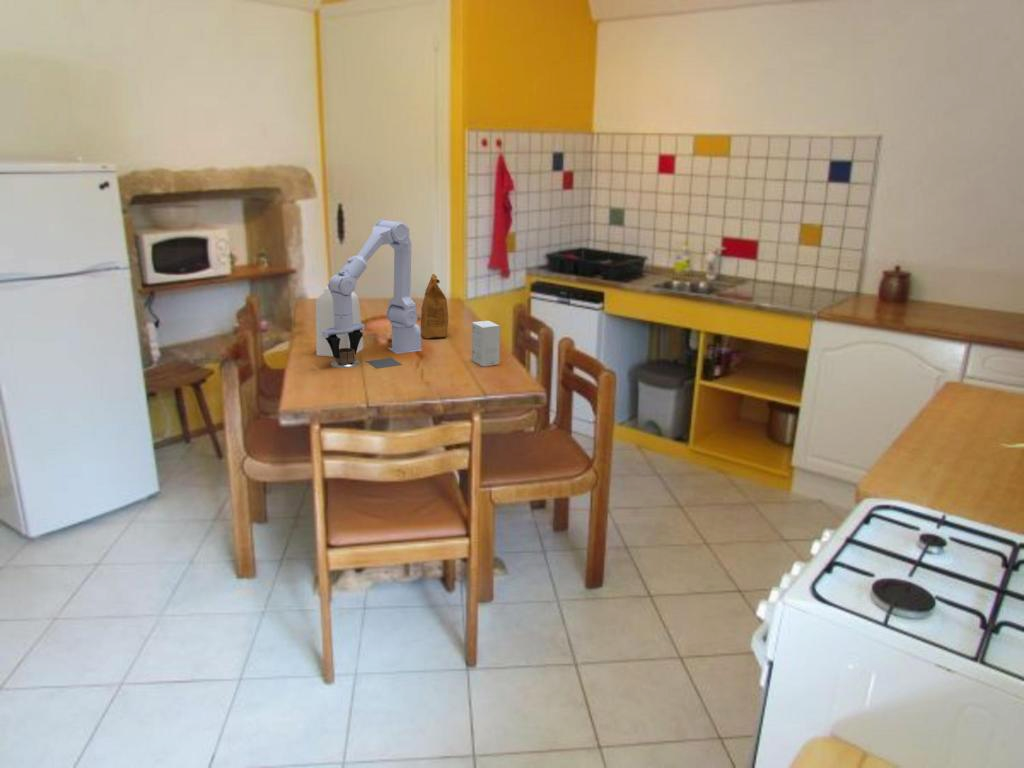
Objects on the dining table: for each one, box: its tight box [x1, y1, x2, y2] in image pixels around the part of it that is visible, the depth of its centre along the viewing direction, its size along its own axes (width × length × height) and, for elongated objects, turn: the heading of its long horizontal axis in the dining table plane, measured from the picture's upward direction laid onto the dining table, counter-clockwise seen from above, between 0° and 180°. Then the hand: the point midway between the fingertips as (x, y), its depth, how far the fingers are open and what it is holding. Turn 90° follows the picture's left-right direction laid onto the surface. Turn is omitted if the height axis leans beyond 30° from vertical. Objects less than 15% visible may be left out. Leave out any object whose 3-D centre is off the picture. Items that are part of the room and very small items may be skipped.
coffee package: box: [420, 273, 449, 339], centre depth 273 cm, size 10×12×22 cm
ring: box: [335, 348, 356, 364], centre depth 237 cm, size 6×6×4 cm
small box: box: [471, 320, 501, 367], centre depth 242 cm, size 8×6×13 cm
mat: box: [365, 357, 403, 370], centre depth 239 cm, size 9×9×1 cm
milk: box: [315, 286, 364, 358], centre depth 247 cm, size 12×12×26 cm
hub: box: [330, 358, 361, 369], centre depth 237 cm, size 9×9×4 cm
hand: (345, 355), depth 237 cm, fingers closed on ring, 6 cm apart
